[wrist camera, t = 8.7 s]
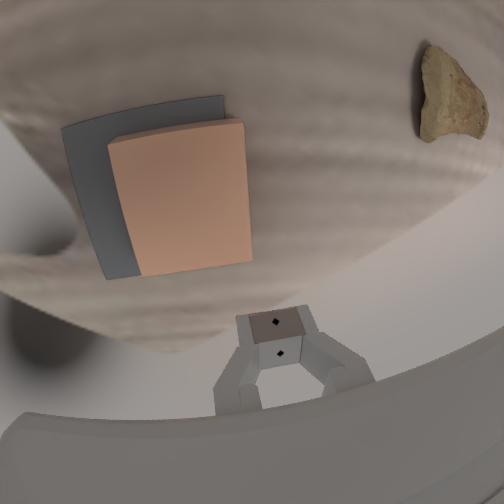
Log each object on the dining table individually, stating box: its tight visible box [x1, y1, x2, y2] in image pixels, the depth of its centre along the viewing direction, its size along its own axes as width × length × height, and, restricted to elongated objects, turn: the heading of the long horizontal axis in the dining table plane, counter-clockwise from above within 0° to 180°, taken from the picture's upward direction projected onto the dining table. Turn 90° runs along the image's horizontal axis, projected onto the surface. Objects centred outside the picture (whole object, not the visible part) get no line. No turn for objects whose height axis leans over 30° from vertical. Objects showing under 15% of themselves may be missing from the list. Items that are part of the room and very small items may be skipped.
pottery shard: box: [420, 46, 489, 143], centre depth 22 cm, size 11×4×10 cm
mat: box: [61, 95, 225, 280], centre depth 25 cm, size 14×16×1 cm
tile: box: [108, 118, 253, 277], centre depth 24 cm, size 3×12×10 cm
